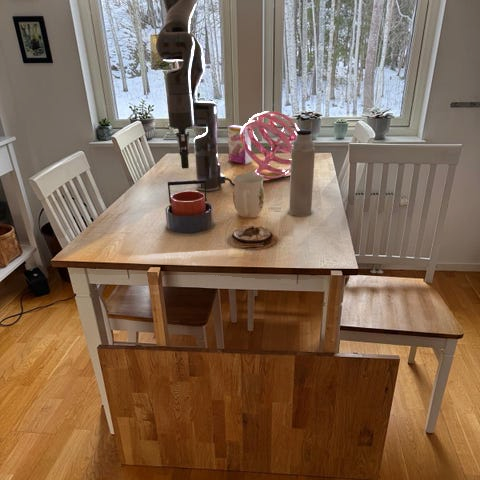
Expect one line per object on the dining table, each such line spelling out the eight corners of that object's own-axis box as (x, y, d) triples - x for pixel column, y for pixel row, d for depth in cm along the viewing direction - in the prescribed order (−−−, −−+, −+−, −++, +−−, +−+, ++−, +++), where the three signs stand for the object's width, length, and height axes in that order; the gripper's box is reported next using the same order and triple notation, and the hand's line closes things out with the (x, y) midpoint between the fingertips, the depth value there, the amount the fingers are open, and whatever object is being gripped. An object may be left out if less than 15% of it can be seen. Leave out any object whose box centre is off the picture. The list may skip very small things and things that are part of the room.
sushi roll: (244, 253, 141) (243, 240, 139) (221, 237, 152) (220, 225, 150) (285, 242, 147) (285, 230, 145) (260, 228, 158) (260, 216, 156)
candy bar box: (228, 161, 235) (226, 126, 226) (234, 159, 238) (233, 124, 229) (245, 164, 229) (244, 128, 220) (251, 162, 232) (251, 127, 223)
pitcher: (228, 224, 162) (227, 184, 154) (237, 207, 177) (236, 170, 169) (260, 226, 160) (260, 185, 153) (266, 208, 175) (267, 170, 168)
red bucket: (172, 220, 165) (167, 176, 157) (206, 218, 166) (204, 174, 158) (172, 232, 155) (167, 186, 147) (209, 229, 157) (206, 184, 148)
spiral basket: (255, 141, 182) (291, 91, 188) (214, 147, 204) (248, 103, 210) (292, 192, 199) (324, 145, 205) (251, 193, 220) (281, 150, 226)
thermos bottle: (292, 207, 175) (295, 127, 160) (313, 209, 173) (318, 128, 158) (286, 215, 169) (289, 132, 153) (308, 217, 166) (313, 133, 151)
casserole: (202, 215, 170) (201, 198, 166) (220, 229, 158) (219, 211, 154) (161, 223, 164) (159, 205, 161) (176, 238, 152) (174, 219, 149)
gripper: (193, 112, 136) (197, 170, 144) (192, 105, 148) (195, 158, 156) (167, 114, 135) (173, 171, 144) (168, 106, 147) (173, 160, 156)
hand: (185, 164), depth 150 cm, fingers open, 8 cm apart
